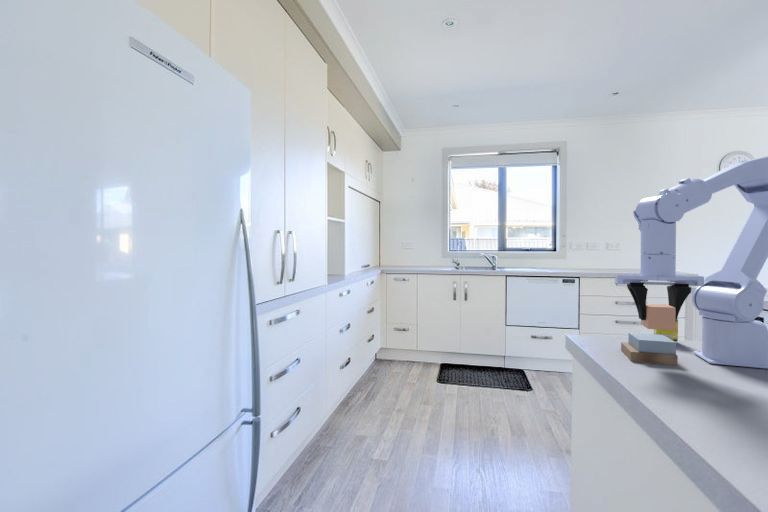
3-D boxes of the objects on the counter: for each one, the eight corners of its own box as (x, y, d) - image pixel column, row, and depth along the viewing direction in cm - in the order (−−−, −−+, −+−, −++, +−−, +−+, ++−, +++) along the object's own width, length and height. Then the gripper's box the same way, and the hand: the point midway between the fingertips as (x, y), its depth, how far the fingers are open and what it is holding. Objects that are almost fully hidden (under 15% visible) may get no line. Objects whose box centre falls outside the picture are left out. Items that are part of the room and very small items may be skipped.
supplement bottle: (682, 344, 86) (682, 310, 86) (660, 343, 87) (660, 309, 87) (670, 339, 91) (670, 307, 91) (649, 338, 92) (650, 306, 92)
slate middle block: (662, 346, 78) (662, 334, 78) (676, 354, 72) (676, 342, 72) (628, 343, 80) (628, 332, 80) (638, 351, 74) (638, 339, 74)
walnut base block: (663, 356, 79) (663, 345, 79) (677, 368, 71) (677, 355, 71) (621, 352, 82) (621, 342, 82) (630, 363, 74) (630, 351, 74)
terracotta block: (666, 325, 74) (666, 304, 74) (675, 330, 70) (675, 307, 70) (640, 324, 76) (641, 303, 75) (648, 328, 71) (648, 306, 71)
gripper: (621, 254, 71) (620, 321, 72) (712, 254, 66) (711, 326, 66) (612, 253, 78) (612, 315, 78) (695, 253, 73) (694, 319, 73)
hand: (657, 320), depth 73 cm, fingers closed on terracotta block, 4 cm apart
